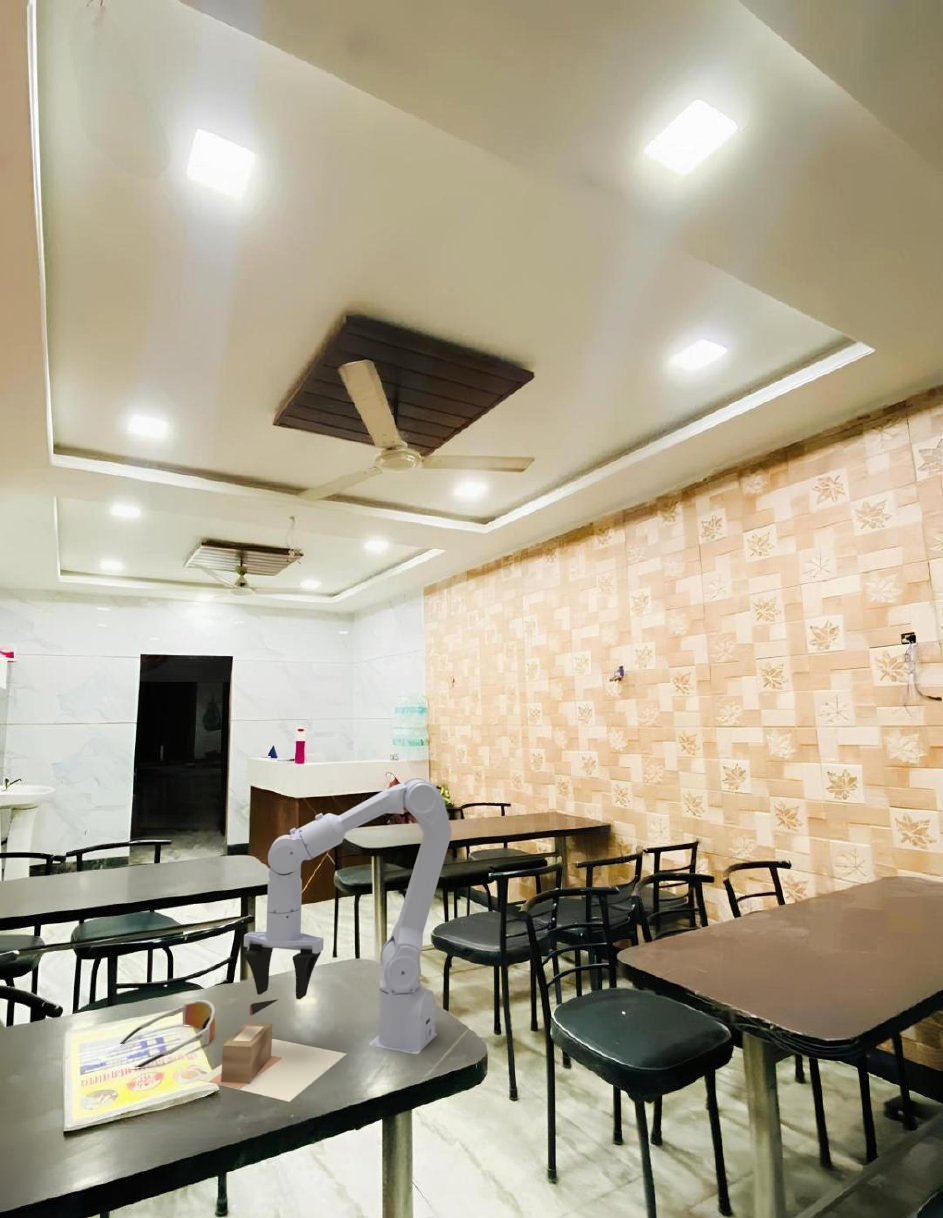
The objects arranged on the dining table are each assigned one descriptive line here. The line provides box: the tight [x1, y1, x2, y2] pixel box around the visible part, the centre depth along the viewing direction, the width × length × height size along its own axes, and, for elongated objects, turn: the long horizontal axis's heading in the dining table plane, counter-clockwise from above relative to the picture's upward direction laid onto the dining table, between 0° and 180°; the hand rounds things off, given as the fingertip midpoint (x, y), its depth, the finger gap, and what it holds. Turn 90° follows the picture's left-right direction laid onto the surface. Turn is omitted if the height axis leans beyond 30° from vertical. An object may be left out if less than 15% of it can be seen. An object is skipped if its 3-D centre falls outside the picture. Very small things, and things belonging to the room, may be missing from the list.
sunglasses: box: [118, 999, 216, 1068], centre depth 113 cm, size 14×15×5 cm
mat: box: [197, 1038, 347, 1103], centre depth 103 cm, size 17×15×1 cm
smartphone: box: [249, 998, 279, 1016], centre depth 122 cm, size 7×1×15 cm
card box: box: [221, 1022, 273, 1083], centre depth 103 cm, size 8×4×5 cm, turn 174°
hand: (281, 994), depth 110 cm, fingers open, 7 cm apart
